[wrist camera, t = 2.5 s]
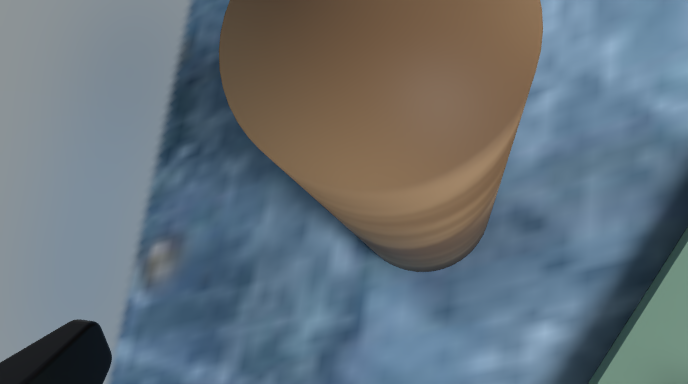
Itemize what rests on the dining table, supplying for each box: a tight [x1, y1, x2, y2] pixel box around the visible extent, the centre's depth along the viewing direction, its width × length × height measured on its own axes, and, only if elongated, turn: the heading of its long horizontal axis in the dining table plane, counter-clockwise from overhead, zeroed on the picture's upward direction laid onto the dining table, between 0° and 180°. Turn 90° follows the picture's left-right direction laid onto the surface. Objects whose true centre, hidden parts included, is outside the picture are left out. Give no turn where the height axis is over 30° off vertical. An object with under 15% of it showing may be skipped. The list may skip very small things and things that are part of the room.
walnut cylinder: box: [219, 0, 543, 272], centre depth 15 cm, size 5×5×13 cm
